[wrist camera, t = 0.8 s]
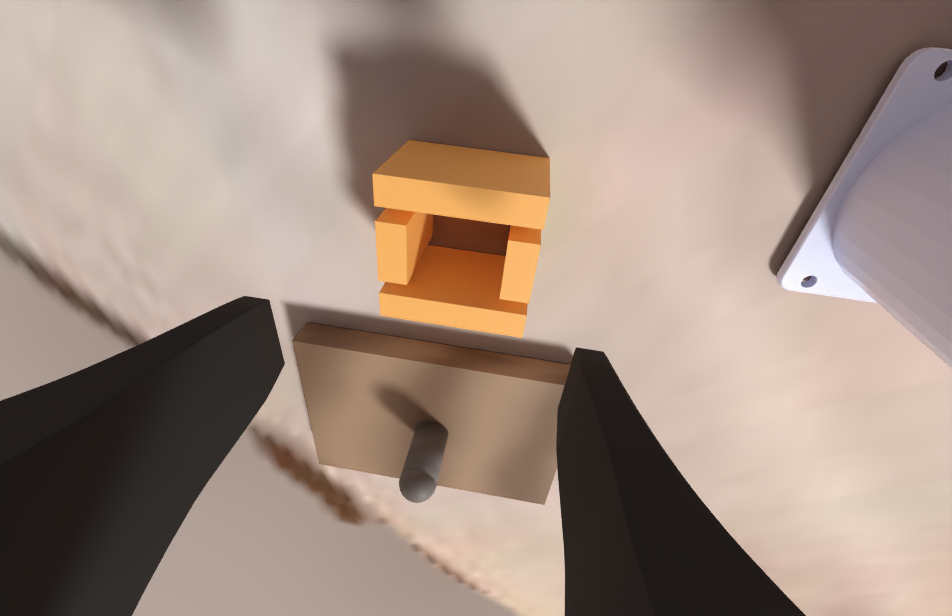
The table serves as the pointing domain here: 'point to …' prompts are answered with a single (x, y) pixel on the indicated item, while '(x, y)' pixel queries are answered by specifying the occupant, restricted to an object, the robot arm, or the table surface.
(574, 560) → the robot arm
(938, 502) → the table surface
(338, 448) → the keeper base
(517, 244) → the orange hollow frame block
